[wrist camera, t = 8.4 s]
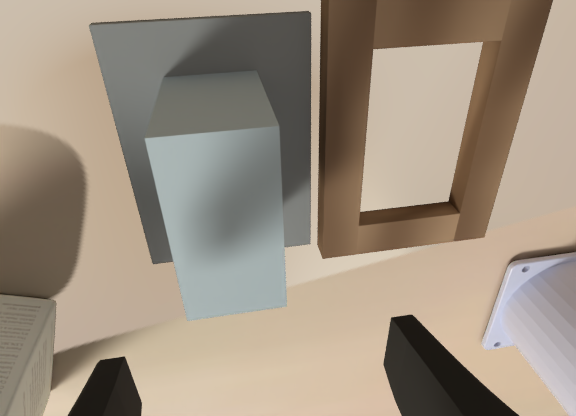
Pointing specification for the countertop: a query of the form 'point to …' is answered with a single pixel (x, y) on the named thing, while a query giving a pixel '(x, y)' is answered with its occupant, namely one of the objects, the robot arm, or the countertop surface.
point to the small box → (26, 354)
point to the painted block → (220, 191)
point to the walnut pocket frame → (478, 129)
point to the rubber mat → (207, 60)
